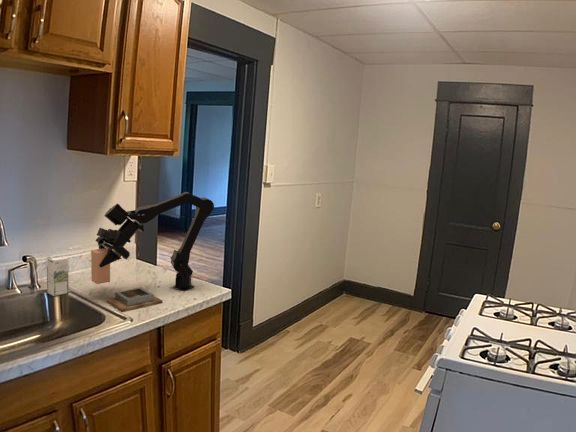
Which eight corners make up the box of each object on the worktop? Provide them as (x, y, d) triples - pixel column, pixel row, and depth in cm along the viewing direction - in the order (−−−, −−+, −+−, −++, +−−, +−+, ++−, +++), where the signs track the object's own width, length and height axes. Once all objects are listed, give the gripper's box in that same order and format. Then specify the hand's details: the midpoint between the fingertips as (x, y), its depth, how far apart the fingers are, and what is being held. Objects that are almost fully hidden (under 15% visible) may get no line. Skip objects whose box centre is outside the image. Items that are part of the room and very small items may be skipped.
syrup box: (62, 289, 183) (61, 254, 180) (69, 293, 179) (68, 257, 176) (47, 293, 178) (46, 256, 176) (54, 297, 174) (53, 259, 172)
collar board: (145, 293, 184) (145, 285, 184) (162, 302, 175) (162, 294, 174) (106, 301, 173) (106, 292, 172) (121, 312, 164) (121, 302, 163)
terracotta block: (104, 278, 180) (104, 248, 178) (110, 281, 176) (109, 251, 174) (91, 280, 176) (91, 250, 174) (96, 284, 173) (96, 252, 171)
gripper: (100, 216, 182) (71, 247, 176) (121, 224, 169) (91, 257, 163) (119, 233, 188) (92, 264, 182) (141, 242, 175) (113, 275, 169)
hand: (97, 265), depth 174 cm, fingers closed on terracotta block, 5 cm apart
